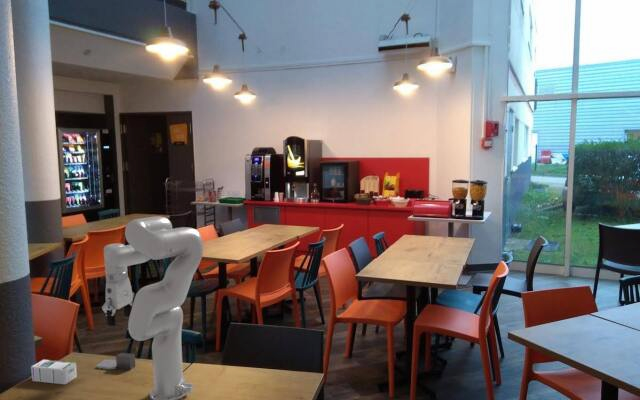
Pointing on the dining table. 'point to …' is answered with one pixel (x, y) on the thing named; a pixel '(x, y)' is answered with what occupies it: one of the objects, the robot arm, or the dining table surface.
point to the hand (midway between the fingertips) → (120, 320)
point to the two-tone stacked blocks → (119, 362)
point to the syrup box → (54, 371)
